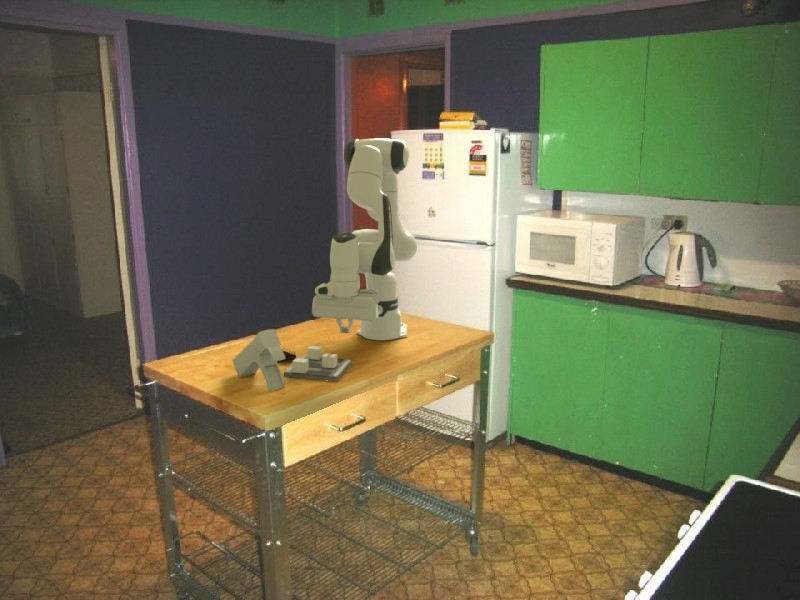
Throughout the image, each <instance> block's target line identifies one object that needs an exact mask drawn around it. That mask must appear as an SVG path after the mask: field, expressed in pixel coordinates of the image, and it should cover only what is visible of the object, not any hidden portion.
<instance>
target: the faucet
mask: <svg viewBox="0 0 800 600" xmlns="http://www.w3.org/2000/svg"><path fill="white" fill-rule="evenodd" d="M282 349H283V348H282V346H281V341H280V338H279V336H278V333H277V332H276V330H275V329H274V328H272V329H271V328H270V329H265V330H262V331H259V332H258V333H257V334H256V336H254V338H253V340H251V342H249V344H247V346H246V347H244V348H243V349H242V350H241V351H240V352H239V353H238V354H237V355H236V356H235V357H234V358H233V359H232V364H233V366H234V370H235V372H236V373H237V375H238V377H239V378H240V377H247V376H250V375H253V373H254V374H255V373H257V372H258V370H259V369H260V372H261V373H262V376H263V378H264V381H265V383H266V385H267V388H268V391H269V392H274V391H276V390H280V389H283V388H285V387H286V384H285V380H284V376H283V373H282V372H281V369H280V365H279V363H278V362H280V361H283V360H286V359H285V355H284V353H283V351H284V350H283V351H282Z"/></svg>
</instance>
